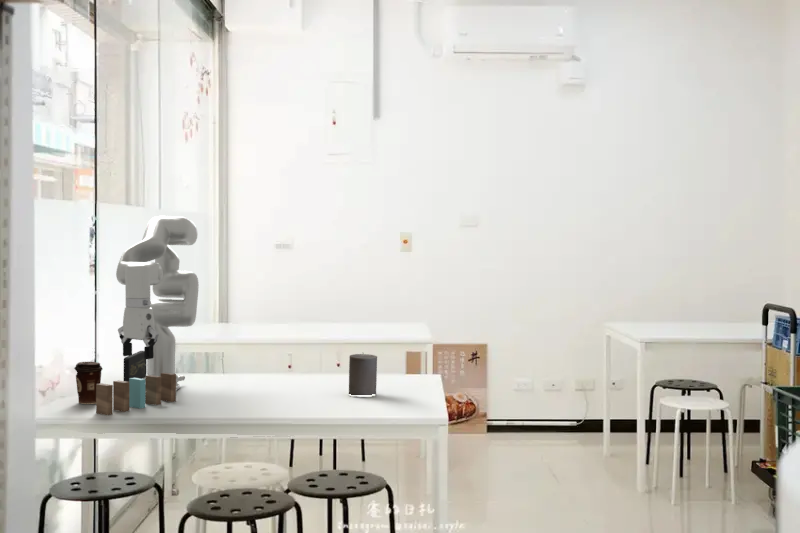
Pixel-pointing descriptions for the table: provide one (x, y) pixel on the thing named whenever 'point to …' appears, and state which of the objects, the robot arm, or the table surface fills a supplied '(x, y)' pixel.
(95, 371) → the coffee cup
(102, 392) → the domino far
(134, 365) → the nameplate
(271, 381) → the table surface
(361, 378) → the pillar candle
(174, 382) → the domino end
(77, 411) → the table surface
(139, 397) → the domino
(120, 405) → the domino
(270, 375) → the table surface
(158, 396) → the domino
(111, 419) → the table surface
